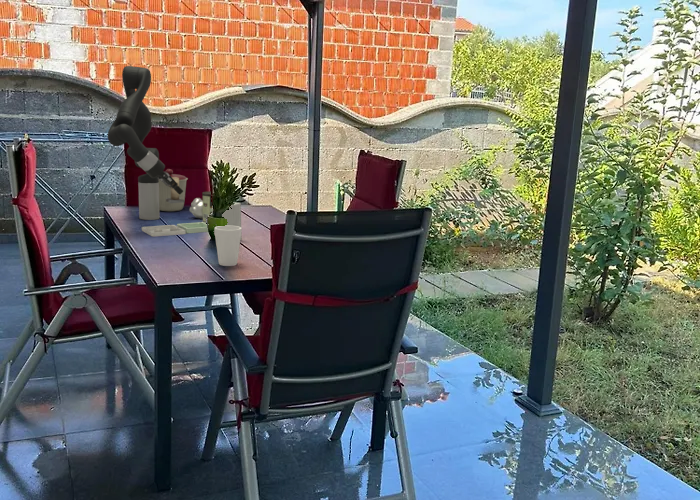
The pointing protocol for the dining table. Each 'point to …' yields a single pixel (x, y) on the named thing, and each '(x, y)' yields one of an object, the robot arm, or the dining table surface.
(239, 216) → the skincare box
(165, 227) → the cream square tray
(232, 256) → the foam cup
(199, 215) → the silver lobed ball
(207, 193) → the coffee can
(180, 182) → the canister
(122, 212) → the dining table surface
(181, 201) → the ball
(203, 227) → the tray
